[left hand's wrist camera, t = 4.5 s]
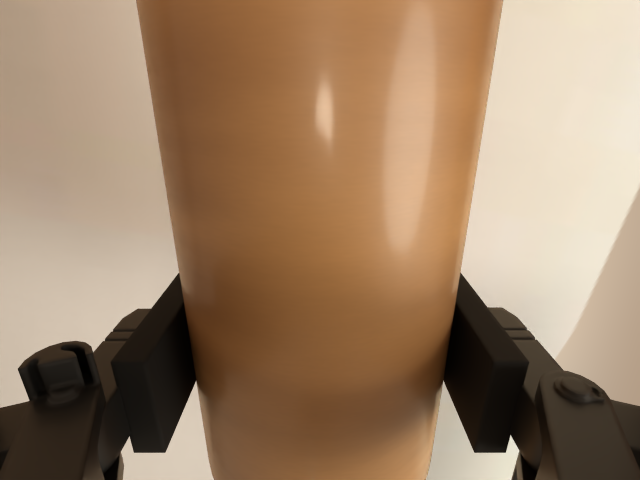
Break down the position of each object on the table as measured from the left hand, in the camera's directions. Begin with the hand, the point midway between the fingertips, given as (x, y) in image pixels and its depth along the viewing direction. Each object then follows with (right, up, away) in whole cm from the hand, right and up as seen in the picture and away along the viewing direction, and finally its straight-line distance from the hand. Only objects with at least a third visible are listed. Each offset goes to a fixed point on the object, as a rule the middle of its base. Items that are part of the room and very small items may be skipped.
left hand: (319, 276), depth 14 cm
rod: (0, +8, -3) cm, 9 cm away
